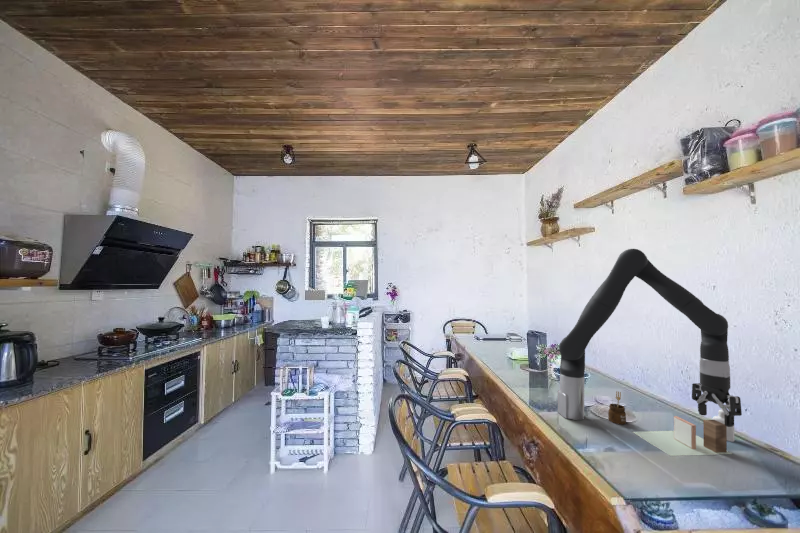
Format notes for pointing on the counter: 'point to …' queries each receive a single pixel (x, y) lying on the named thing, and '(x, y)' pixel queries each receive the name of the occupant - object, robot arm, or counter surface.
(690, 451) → the mat
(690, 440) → the tile
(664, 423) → the counter surface
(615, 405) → the utensil holder
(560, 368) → the robot arm
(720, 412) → the eye dropper bottle
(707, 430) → the block
